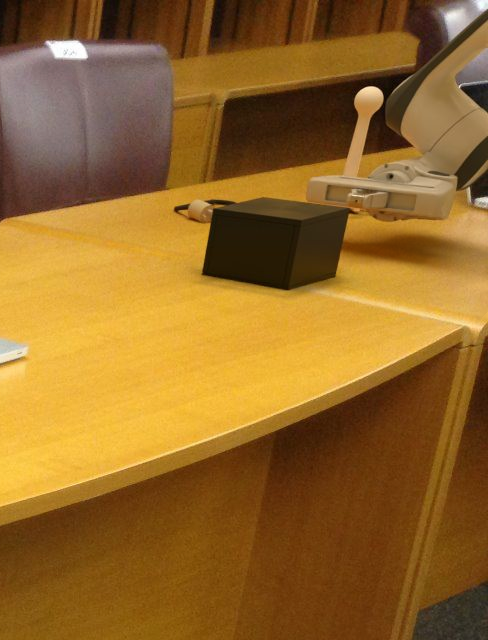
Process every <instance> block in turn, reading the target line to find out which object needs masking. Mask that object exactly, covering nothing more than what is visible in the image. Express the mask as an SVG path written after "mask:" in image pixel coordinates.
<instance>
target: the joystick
mask: <svg viewBox="0 0 488 640" xmlns="http://www.w3.org/2000/svg"><path fill="white" fill-rule="evenodd" d="M383 103H384V94H383V91H382V90H381V89H380V88H379V87H376V86H366V87H364V88H362V89H360V90H359V91H358V92H357V94H356V95H355V97H354V102H353V105H354V108H355V110H356V112H357V121H356V125H355V129H354V132H353V135H352V139H351V142H350V147H349V151H348V153H347V158H346V161H345V164H344V169H343V171H342V175H343V176H352V177H358V173H359V169H360V165H361V162H362V156H363V153H364V147H365V143H366V139H367V136H368V135H367V134H368V130H369V126H370V121H371V119H372V117H373V115H374V114H376V112H377V111H378V110H380V109H381V107H382V106H383ZM331 206H336V205H331ZM339 207H344V206H339ZM347 208H350V211H352V212H367V211H366V209H360V208H352V207H347Z"/></svg>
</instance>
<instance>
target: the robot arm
mask: <svg viewBox="0 0 488 640" xmlns="http://www.w3.org/2000/svg"><path fill="white" fill-rule="evenodd" d="M485 49H488V8H487V9H485V10H484V11H483V12H482V13H480V15H478V16H477V17H476V18H475V19H474V20H472V21H471V22H470V23H469V24H467V25H466V27H464V28H463V29H462V30H461V31H460V32H459V33H458V34H457V35H455V36H454V37H453V38H452V39H451V40H450V41H449V42H448V43H447V44H446V45H445V46H444V47H442V49H440V50H439V51H438V52H437V53H436V54H435V55H434V56H432V58H431V59H430V60H429V61H427V62H426V63H425V64H424V65H423V66H421V67H420V69H418V70H417V71H415V72H414V73H413V74H412V75H410V76H408V77H407V78H406V79H405V80H403V81H402V82H401V83H400V84H399V85H398V86H397V87H396V88H394V89H393V91H392V93H391V94H390V95H389V96H388V98H387V99H386V102H385V109H384V110H385V112H384V114H385V125H386V126H387V127H388V128H389V129H391V130H392V131H393V132H395V133H396V134H398V135H399V136H400V137H401V138H404V139H405V141H407V142H408V143H409V144H411V145H412V146H413V147H414V148H415V149H416V150H417V151H418V152H419V153H420V154H421V155H420V156H414V157H410V158H408V159H401V160H395V161H392V162H387V163H384V164H382V165H379V166H377V167H376V168H374V170H373V171H372V172H370V173H369V175H368V176H367V177H359V176H357V177H352V176H343V174H342V175H340V174H331V175H321V176H314V177H311V178H310V179H309V180H308V183H307V186H306V192H305V200H306V201H307V203H315V204H323V205H336V206H344V207H352V208H360V209H366V211H365V212H367V213H368V215H370V216H371V217H372V218H373V219H375V220H378V221H379V222H385V223H393V222H398V221H401V222H402V221H403V222H404V221H409V220H428V221H429V220H431V221H445V220H447V219H448V218H449V216H450V214H451V212H452V211H451V210H452V208H453V206H454V201H455V197H456V194H457V193H458V192H462V191H464V190H466V189H468V188H470V187H471V186H472V185H474V184H475V183H476V182H478V181H479V180H480V179H481V178H482V177H484V176H485V175H486V174H487V173H488V112H487V111H486V110H485V109H484V108H483V107H481V106H480V105H479V104H477V103H476V102H475V101H474V99H472V98H471V97H470V96H468V94H466V93H465V91H463V90H462V89H461V88H460V87H459V85H458V83H457V80H456V75H457V74H458V73H460V72H461V71H462V70H463V69H464V68H465V67H466V66H468V65H469V63H471V62H472V61H474V59H475V58H476V57H478V56H479V55H480V54H481V53H482V52H483V51H484V50H485Z"/></svg>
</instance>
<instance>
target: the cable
mask: <svg viewBox="0 0 488 640" xmlns="http://www.w3.org/2000/svg"><path fill="white" fill-rule="evenodd" d="M235 203H237V202H236V201H233V200H226V199H213V198H212V199H208V200H202V199H198V198H197V199H195V200H193V201H191V203H186V204H180V205H175V206H174V208H173V210H174V211H176V212H177V211H187V216H188V217H189V218H191V219H193V220H195V221H197V222H200V223H211V219H212V212H213V208H216V207H215V206H214V205H223V206H226V205H231V204H235Z"/></svg>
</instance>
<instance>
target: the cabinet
mask: <svg viewBox="0 0 488 640" xmlns="http://www.w3.org/2000/svg"><path fill="white" fill-rule="evenodd" d="M350 211H351V210H350V208H347V207H339V206H331V205H328V204H320V203H312V202H308V201H307V202H306V201H299V200H290V199H284V198H283V199H282V198H274V197H266V196H262V197H258V198H253V199H249V200H245V201H239V202H236V203H235V204H231V205H222V206H218V207H215V208H213V212H212V219H211V221H210V225H209V230H208V235H207V242H206V247H205V253H204V260H203V265H202V271H201V276H204V277H205V276H206V277H210V278H211V277H212V278H217V279H222V280H227V281H233V282H237V283H238V282H240V283H244V284H248V285H249V284H251V285H255V286H259V287H265V288H272V289H276V290H281V291H291V290H295V289H298V288H302V287H305V286H308V285H309V286H310V285H312V284H316V283H319V282H322V281H326V280H330V279H333V278H336V276H337V271H338V267H339V262H340V257H341V253H342V248H343V243H344V238H345V235H346V229H347V225H348V220H349V215H350Z"/></svg>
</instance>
